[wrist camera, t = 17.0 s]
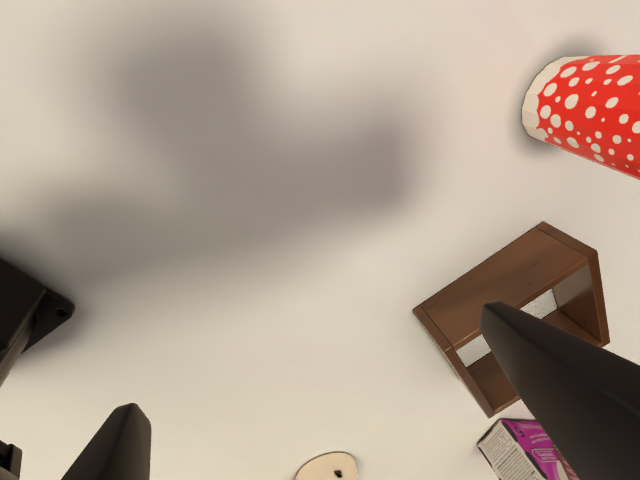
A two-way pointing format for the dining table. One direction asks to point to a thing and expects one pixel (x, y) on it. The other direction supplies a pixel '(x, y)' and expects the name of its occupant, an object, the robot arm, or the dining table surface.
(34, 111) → the dining table surface
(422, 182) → the dining table surface
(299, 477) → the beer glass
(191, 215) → the dining table surface
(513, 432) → the candy bar box
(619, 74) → the beverage cup
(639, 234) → the dining table surface
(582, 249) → the crate
